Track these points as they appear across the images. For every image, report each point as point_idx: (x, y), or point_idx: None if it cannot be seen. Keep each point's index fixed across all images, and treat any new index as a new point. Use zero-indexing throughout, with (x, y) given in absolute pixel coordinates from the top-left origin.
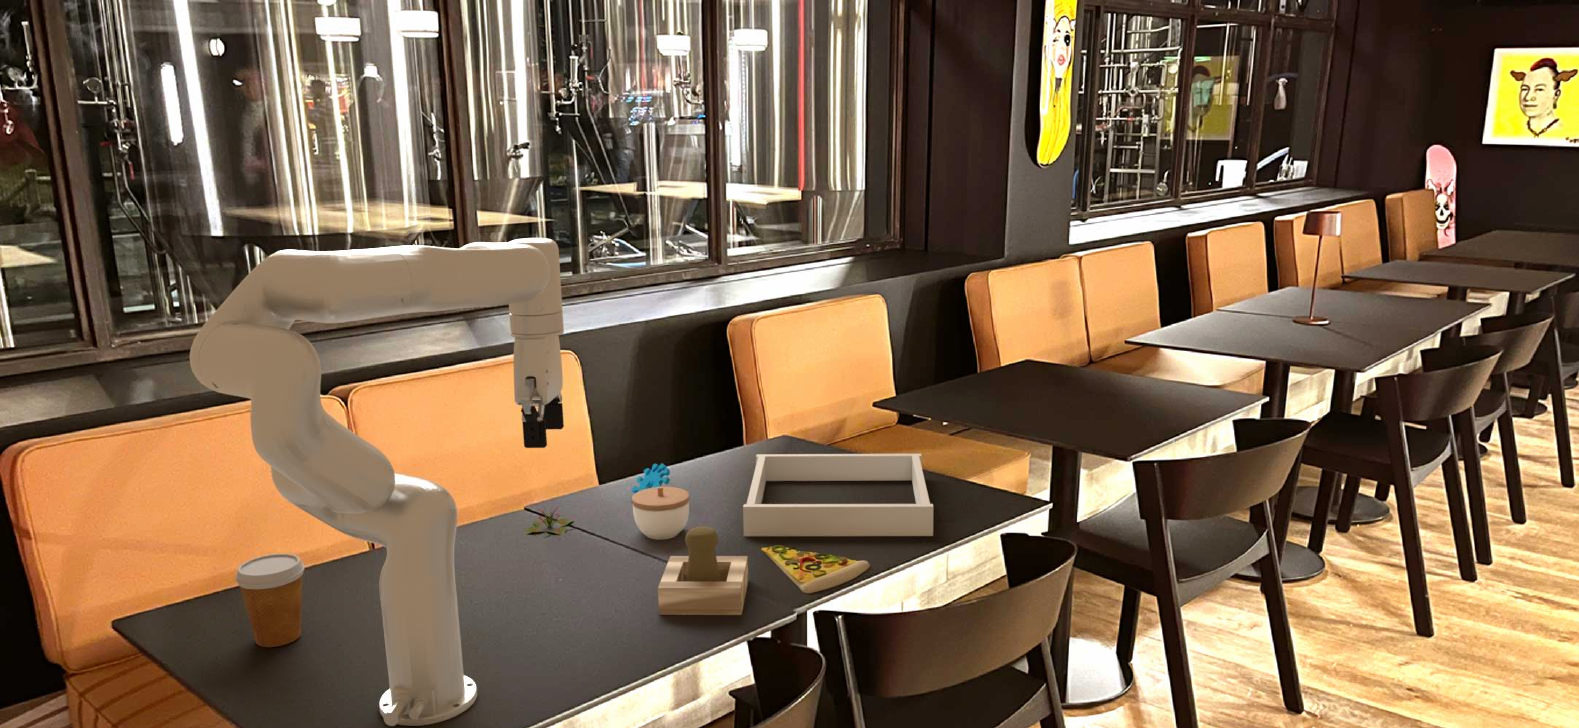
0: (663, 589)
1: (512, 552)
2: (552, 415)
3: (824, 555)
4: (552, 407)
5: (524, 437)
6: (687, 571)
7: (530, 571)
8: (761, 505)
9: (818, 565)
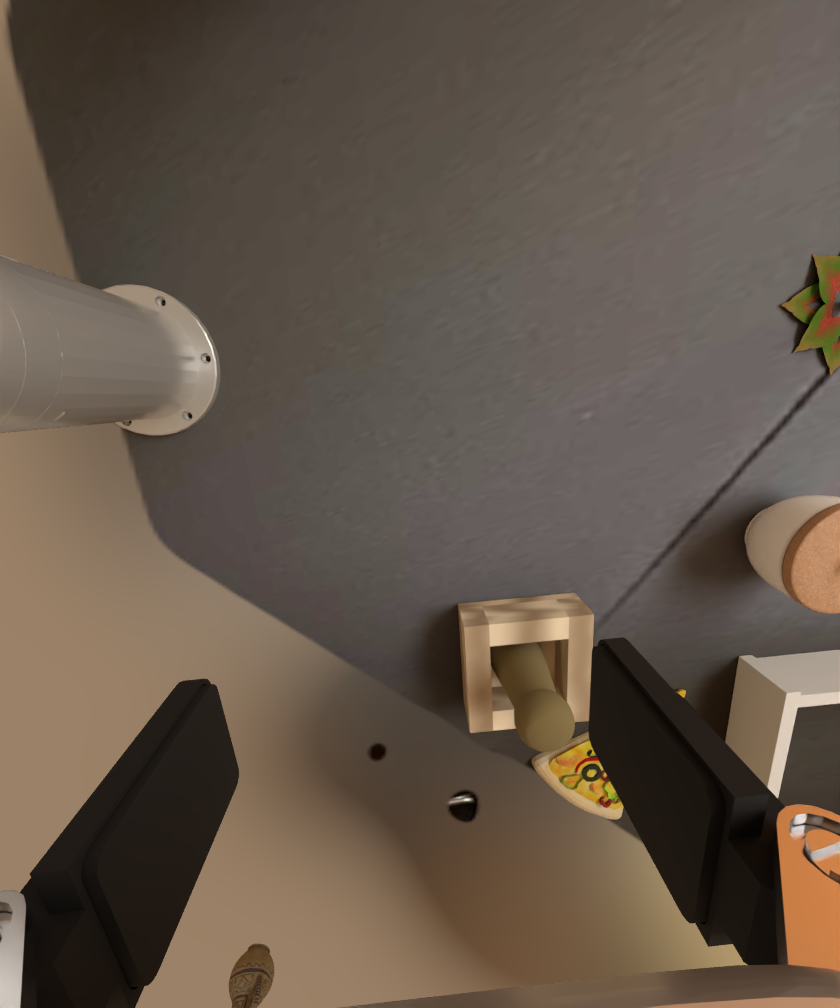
0: (464, 633)
1: (724, 268)
2: (640, 777)
3: None
4: (683, 853)
5: (143, 734)
6: (518, 659)
7: (625, 344)
8: (788, 718)
9: (596, 778)
